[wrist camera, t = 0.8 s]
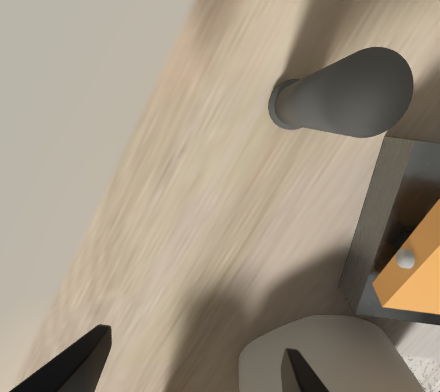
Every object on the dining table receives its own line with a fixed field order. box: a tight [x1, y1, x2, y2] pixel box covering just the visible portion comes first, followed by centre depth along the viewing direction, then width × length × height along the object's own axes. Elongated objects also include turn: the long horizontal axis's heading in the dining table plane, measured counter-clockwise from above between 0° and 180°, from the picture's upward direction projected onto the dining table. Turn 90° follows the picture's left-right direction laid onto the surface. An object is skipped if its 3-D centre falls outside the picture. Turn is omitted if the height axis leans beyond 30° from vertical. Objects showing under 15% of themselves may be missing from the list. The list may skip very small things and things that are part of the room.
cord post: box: [268, 47, 413, 138], centre depth 12 cm, size 3×3×10 cm
